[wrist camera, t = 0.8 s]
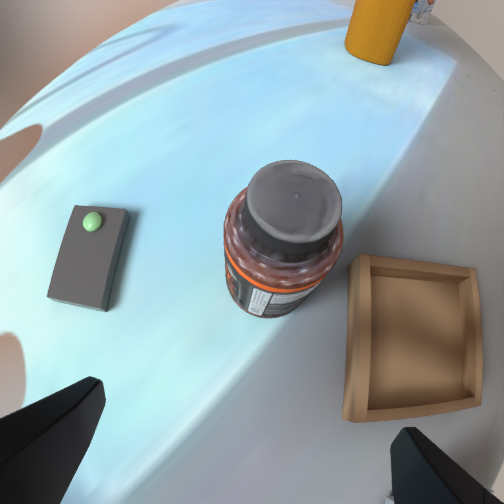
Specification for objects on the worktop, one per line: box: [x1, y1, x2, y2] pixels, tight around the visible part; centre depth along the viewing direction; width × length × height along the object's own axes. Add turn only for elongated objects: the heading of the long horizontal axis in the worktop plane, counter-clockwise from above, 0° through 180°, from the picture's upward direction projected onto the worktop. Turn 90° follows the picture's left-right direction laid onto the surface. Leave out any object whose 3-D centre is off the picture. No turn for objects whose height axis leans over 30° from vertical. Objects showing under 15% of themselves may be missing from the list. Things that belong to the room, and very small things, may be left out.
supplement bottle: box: [224, 160, 343, 318], centre depth 17 cm, size 6×6×11 cm
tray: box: [342, 254, 483, 423], centre depth 20 cm, size 12×12×2 cm
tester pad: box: [47, 205, 130, 312], centre depth 22 cm, size 8×5×2 cm, turn 175°
